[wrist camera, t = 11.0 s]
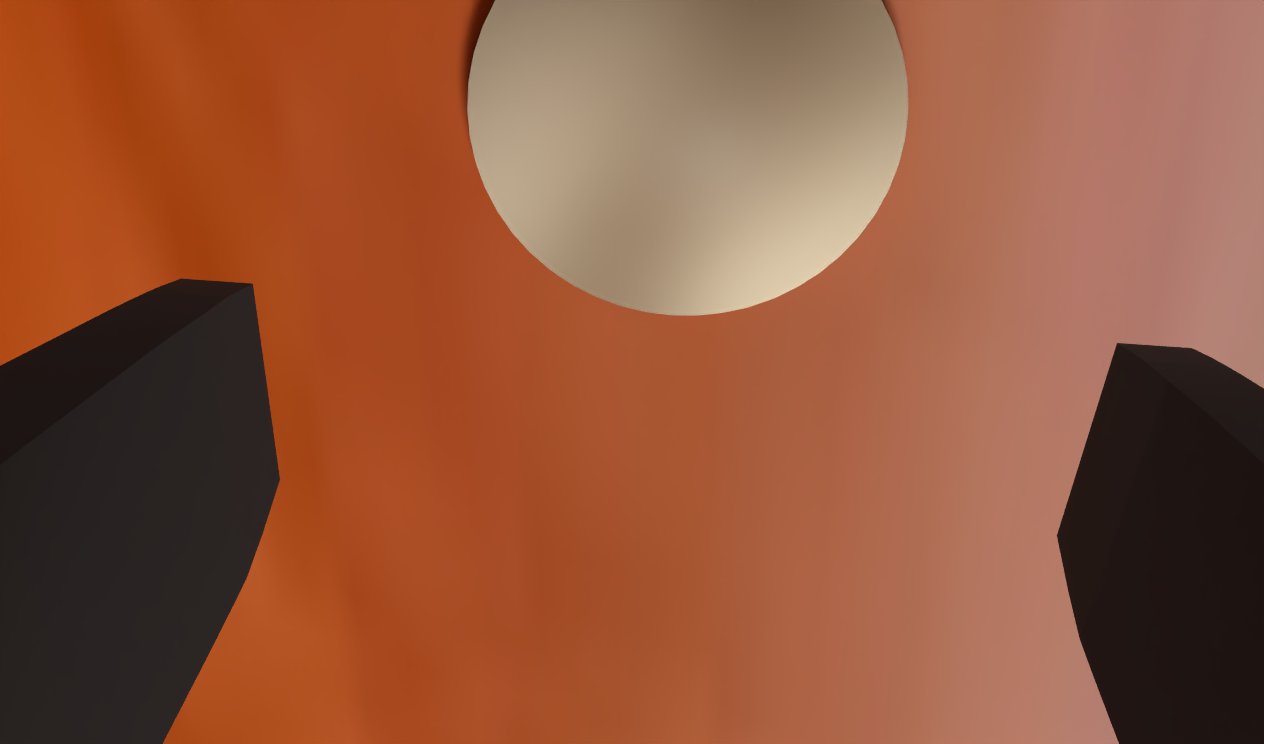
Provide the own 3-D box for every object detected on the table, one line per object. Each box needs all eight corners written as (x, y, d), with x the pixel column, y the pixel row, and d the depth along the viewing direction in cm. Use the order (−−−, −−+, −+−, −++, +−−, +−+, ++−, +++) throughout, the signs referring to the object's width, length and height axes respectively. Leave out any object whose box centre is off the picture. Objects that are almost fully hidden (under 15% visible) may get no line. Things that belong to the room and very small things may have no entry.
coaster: (475, 291, 18) (472, 301, 18) (465, -129, 15) (461, -125, 15) (868, 318, 18) (870, 328, 18) (943, -99, 15) (947, -94, 14)
